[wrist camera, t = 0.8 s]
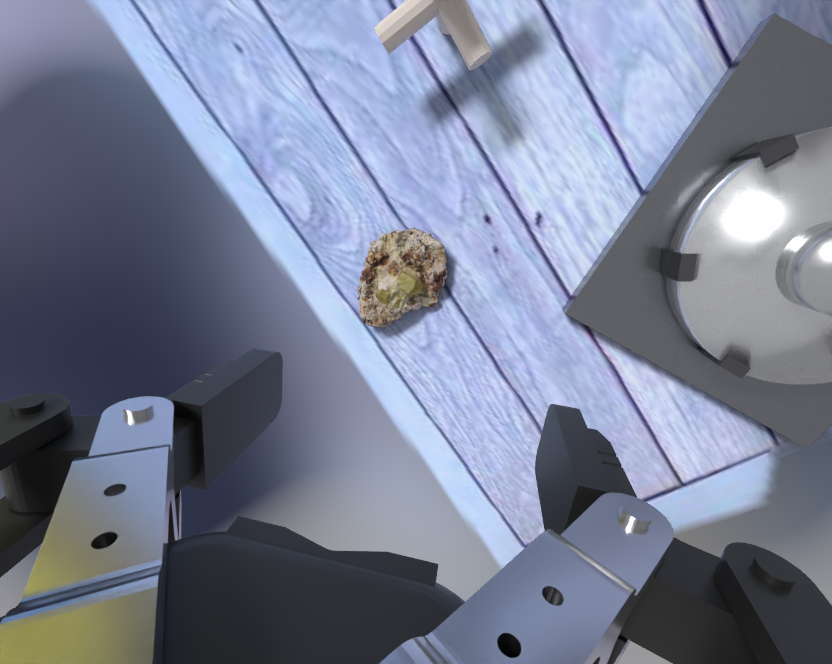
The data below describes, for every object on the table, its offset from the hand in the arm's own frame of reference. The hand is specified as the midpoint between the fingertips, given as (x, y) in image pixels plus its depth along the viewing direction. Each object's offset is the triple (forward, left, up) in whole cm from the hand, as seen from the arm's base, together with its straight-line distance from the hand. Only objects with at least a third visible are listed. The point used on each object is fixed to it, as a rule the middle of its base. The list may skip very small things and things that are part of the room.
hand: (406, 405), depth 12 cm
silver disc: (-13, +22, -25) cm, 36 cm away
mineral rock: (+4, -4, -28) cm, 28 cm away
